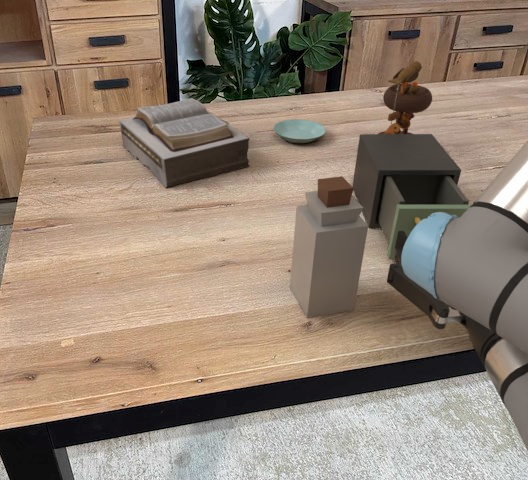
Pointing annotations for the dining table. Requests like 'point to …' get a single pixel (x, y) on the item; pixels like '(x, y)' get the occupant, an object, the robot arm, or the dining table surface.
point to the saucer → (299, 130)
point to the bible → (183, 142)
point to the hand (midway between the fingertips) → (450, 239)
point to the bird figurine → (405, 99)
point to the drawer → (415, 203)
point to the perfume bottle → (328, 249)
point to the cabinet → (396, 165)
